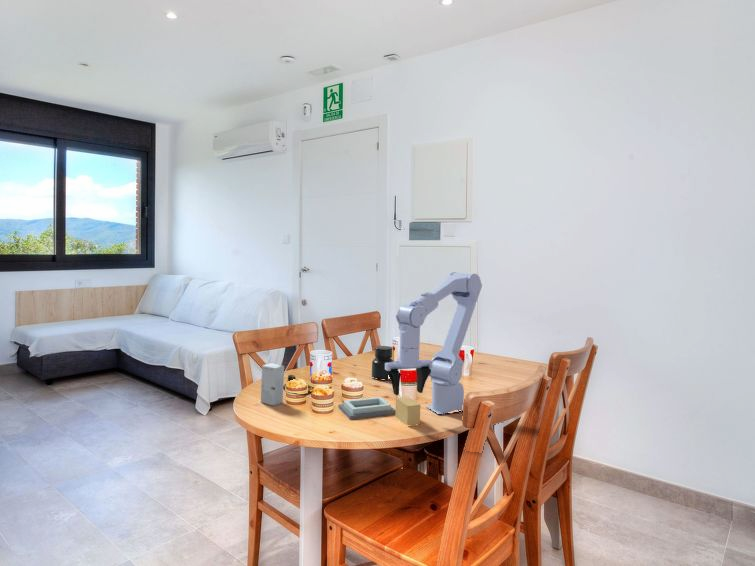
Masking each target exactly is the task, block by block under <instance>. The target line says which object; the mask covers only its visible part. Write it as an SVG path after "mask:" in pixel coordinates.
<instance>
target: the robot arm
mask: <svg viewBox="0 0 755 566" xmlns="http://www.w3.org/2000/svg"><path fill="white" fill-rule="evenodd" d="M482 287H483V284H482V280H481V278H480V275H478V274H477V273H461V272H450V273H449V274H448V275H446V276H445V280H444V281H443V282H441V284H439V285H438V286H437V287H436V288H435V289H434V290H432V291H431V292H430V291H426V292H425V291H423V292H422V293H420V296H419V297H417V298H415V300H412V301H410V303H409V304H408V305H407V304H404V305H402V306H400V307H399V309H398V311H397V313H396V315H395V319H396V321H397V323H398V329H399V352H398V353H399V356H398V357H399V358H398V359H399V360H394V362H389V363H385V370H387V373H388V375H389V377H390V380H389V381H390V383H391V385H392V390H393V391H392V392H393V394H394V395H395V396H399V395H400V382H401V377H402V373H400V371H399V370H409V369H415V371H416V392H418V393H420V394H422V393H423V392H424V388H425V385H426V382H427V379H428V378H429V377H430V381H431V382H432V386H431V387H432V388H431V389H432V390H431V391H432V393H431V404H428V405H426V408H427V407H428V408H427V409H429V410H430V409H431V410H430V411H431V412H433V411H434V412H433V413H435V412H436V413H437V414H436V413H435V414H436V415H438V414H442V415H444V414H443V413H448V412H451V411H454V410H458V411H459V410H461V412H460V413H463V412H462V405H463V406H464V403H463V400H465V389H464V386H463V384H462V382H461V378H462V377H463V376H462V375H463V366H464V361H463V360H462V358H461V357H460V355H459V354H460V351H461V348H462V346H463V343H464V340H465V337H466V334H467V332H468V328H469V326H470V323H471V320H472V317H473V314H474V310H475V308H476V304H477V302H478V299H479V296H480V293H481V290H482ZM449 295H451V296H452V298H453V300H455V301H456V302H457V306H456V309H455V312H454V314H453V317H452V319H451V324H450V325H449V329H448V331H447V335H446V338H445V340H444V342H443V347H442V348H441V350H439V351H437V352H435V353H434V354H433V357H432V359H420V342H421V341H420V339H421V333H420V332H421V326H423V324H424V322H425V320H426V318H427V316H428V315H430V314H431V313H432V312H434V311H435V310H436V309H437V308H438V307H439V302H441V301H442V300H444V299H445V298H447V297H448V296H449Z"/></svg>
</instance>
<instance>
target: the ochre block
mask: <svg viewBox="0 0 755 566" xmlns="http://www.w3.org/2000/svg"><path fill="white" fill-rule="evenodd" d="M395 410H396V414H394V415H395V418H396V419H397V418H398V419H399V420H400V421H399V422H401V423H402V422H403V423H404V424H406V425H416V424H420V425H421V404H420V403H418V401H415V400H414V399H413V398H411V397H410V396H402V397H396V398H395ZM398 419H397V420H398ZM403 423H402V424H403ZM404 424H403V425H404ZM406 425H405V426H406ZM416 426H417V425H416Z"/></svg>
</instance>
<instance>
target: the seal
mask: <svg viewBox="0 0 755 566" xmlns="http://www.w3.org/2000/svg"><path fill="white" fill-rule="evenodd" d="M293 379H296V380H297V378H296V375H294V374H288V376H287V382H288V381H290V380H293ZM287 382H286V383H287ZM286 383H284V384H283V391H285V386H286ZM311 387H312V385H310V384H308V393H309V394H310V390H311Z"/></svg>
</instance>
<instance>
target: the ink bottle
mask: <svg viewBox="0 0 755 566" xmlns="http://www.w3.org/2000/svg"><path fill="white" fill-rule="evenodd" d="M374 357H375V358H374V359H372V361H371V378H372V377H374V378H377V379H388V373H387V370H385V363H389V362H394V361H395V360H393V358H392V357H393V347H392V346H388V345H377V346H375V347H374ZM374 378H373V379H374ZM377 379H376V380H377Z"/></svg>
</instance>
